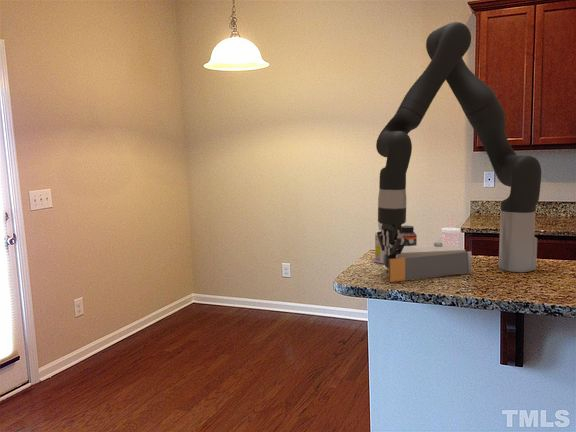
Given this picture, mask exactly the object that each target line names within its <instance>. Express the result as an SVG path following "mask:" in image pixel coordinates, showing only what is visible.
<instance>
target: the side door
mask: <svg viewBox="0 0 576 432" xmlns="http://www.w3.org/2000/svg"><path fill="white" fill-rule="evenodd" d="M472 255H473V254H472V251H468V250H467V251H465V252H458V253H448V254H437V255H427V256H416V257H406V258H393V259H389V271H388V282H390V283H391V282H392V283H393V282H400V281H408V280H417V279H426V278H434V277H444V276H453V275H464V274H463V273H465V274H471V273H472Z"/></svg>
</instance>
